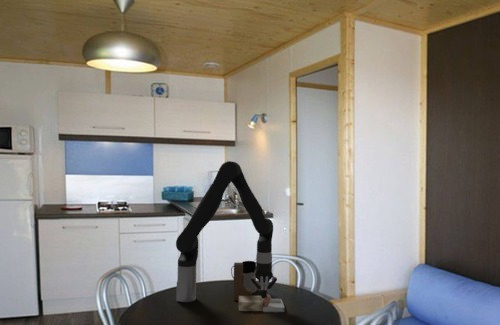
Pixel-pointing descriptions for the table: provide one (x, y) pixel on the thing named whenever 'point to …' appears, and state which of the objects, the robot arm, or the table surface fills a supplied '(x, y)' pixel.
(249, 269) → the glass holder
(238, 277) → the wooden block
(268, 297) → the tile
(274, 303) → the tray
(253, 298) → the beige patterned box
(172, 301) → the table surface
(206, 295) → the table surface
